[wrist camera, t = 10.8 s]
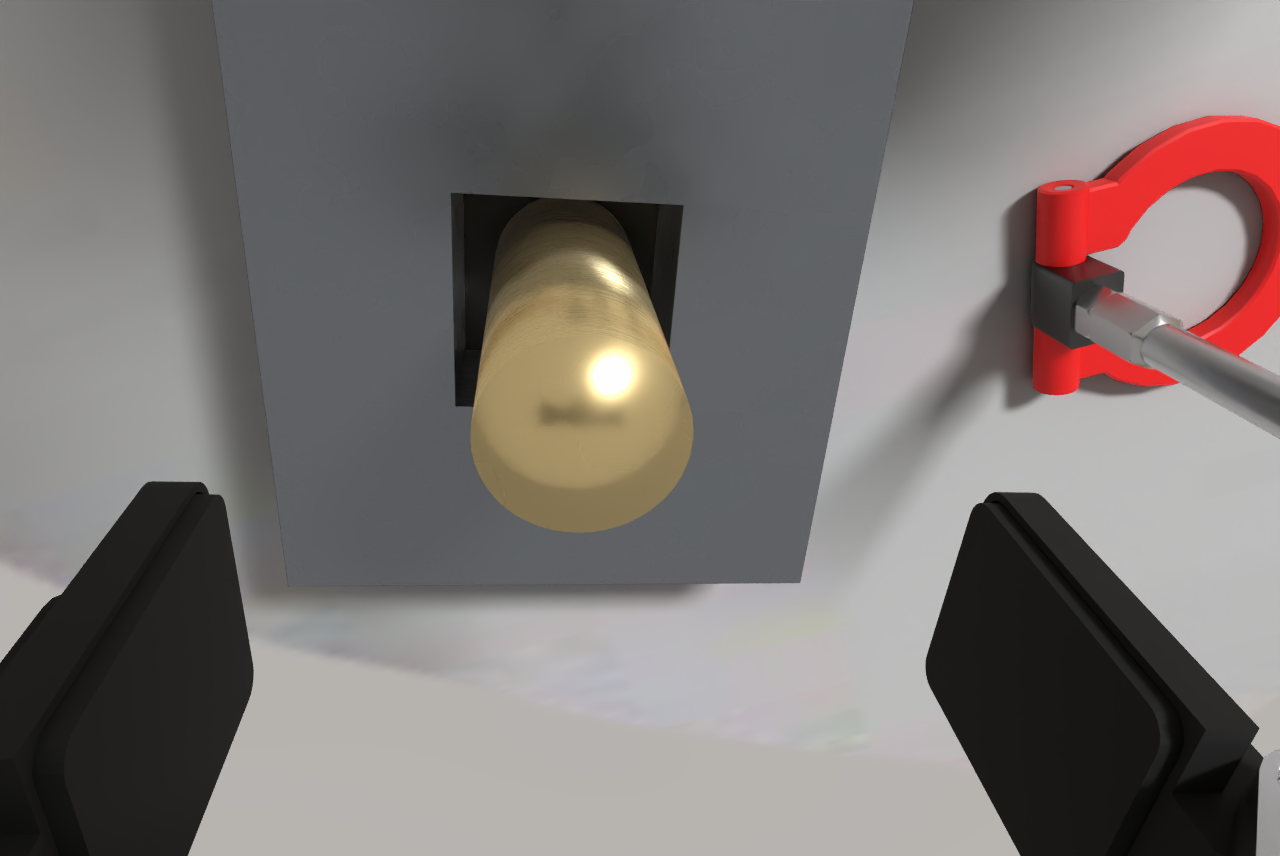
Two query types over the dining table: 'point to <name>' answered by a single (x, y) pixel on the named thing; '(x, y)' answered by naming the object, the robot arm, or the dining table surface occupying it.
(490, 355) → the brass pin
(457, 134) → the grey block with hole
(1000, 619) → the robot arm
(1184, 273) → the dining table surface
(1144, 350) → the tow hook
